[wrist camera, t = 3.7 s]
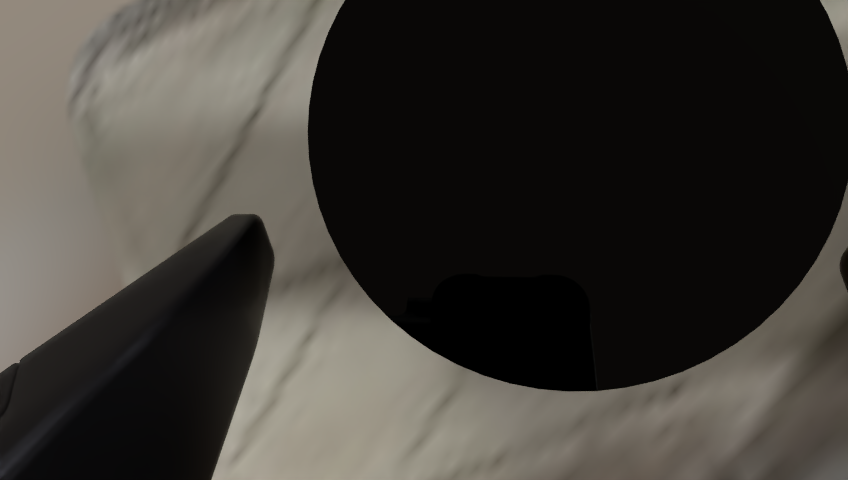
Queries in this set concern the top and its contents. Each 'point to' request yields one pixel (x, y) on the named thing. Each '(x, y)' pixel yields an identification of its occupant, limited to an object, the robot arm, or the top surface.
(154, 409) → the robot arm
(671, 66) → the supplement container
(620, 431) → the top surface
